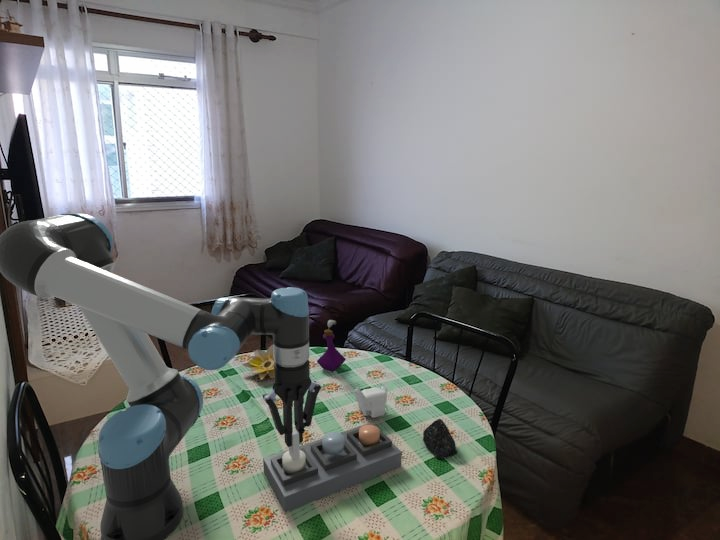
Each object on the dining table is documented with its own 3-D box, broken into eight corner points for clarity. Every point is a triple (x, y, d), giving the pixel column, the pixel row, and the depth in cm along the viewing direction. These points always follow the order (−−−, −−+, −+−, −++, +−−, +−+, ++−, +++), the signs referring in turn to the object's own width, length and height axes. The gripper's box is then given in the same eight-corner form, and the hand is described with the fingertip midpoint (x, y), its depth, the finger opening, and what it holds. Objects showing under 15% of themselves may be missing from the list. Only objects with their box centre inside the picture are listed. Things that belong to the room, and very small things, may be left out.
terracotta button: (365, 448, 107) (365, 439, 106) (354, 437, 111) (355, 428, 111) (383, 442, 110) (383, 433, 109) (372, 431, 114) (372, 422, 113)
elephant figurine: (366, 428, 123) (366, 399, 121) (349, 406, 134) (349, 379, 132) (396, 420, 127) (397, 392, 125) (377, 399, 138) (378, 373, 135)
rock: (437, 463, 110) (439, 442, 109) (416, 439, 119) (417, 420, 118) (461, 456, 113) (462, 436, 111) (439, 433, 122) (440, 414, 120)
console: (285, 512, 94) (284, 490, 92) (263, 472, 105) (262, 452, 104) (401, 466, 108) (401, 446, 107) (371, 435, 120) (371, 417, 119)
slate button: (328, 457, 102) (328, 448, 101) (318, 445, 106) (318, 436, 106) (348, 450, 104) (348, 441, 104) (338, 438, 109) (338, 429, 108)
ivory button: (287, 477, 97) (287, 467, 97) (279, 463, 102) (278, 453, 101) (309, 469, 100) (309, 459, 99) (300, 455, 104) (300, 446, 104)
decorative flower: (235, 365, 154) (240, 339, 153) (263, 363, 162) (268, 338, 161) (256, 385, 144) (262, 356, 142) (285, 381, 152) (291, 354, 150)
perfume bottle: (333, 375, 152) (333, 326, 148) (316, 369, 156) (316, 321, 152) (346, 367, 158) (346, 320, 154) (329, 361, 162) (329, 315, 158)
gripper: (267, 374, 88) (272, 476, 94) (327, 360, 94) (327, 456, 100) (256, 359, 94) (261, 455, 100) (312, 347, 100) (313, 438, 106)
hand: (294, 455), depth 100 cm, fingers closed
